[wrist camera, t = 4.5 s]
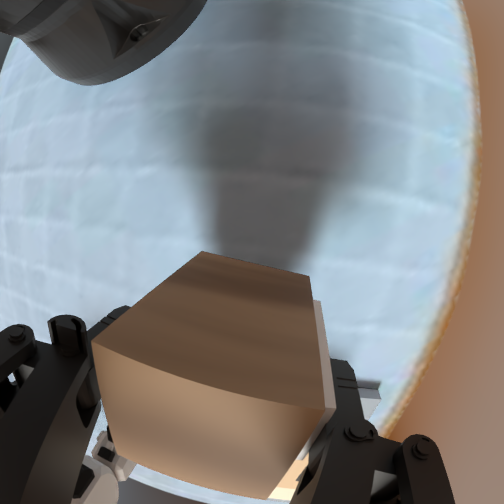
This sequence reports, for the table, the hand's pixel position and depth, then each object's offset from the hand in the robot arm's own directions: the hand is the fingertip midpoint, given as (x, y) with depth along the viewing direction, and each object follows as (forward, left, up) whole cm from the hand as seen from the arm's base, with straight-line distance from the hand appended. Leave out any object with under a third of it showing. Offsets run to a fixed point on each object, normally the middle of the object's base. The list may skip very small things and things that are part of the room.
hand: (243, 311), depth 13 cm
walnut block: (0, 0, 0) cm, 1 cm away
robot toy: (+21, -10, -5) cm, 23 cm away
